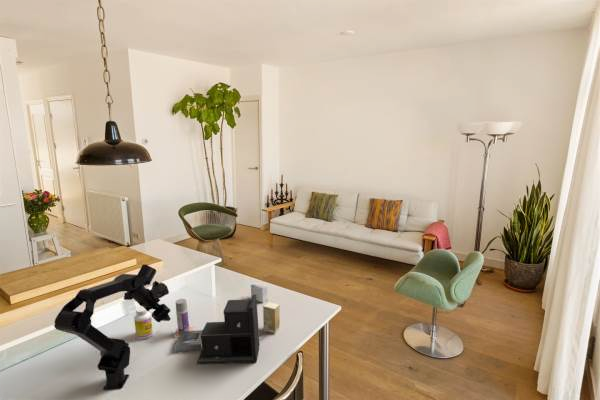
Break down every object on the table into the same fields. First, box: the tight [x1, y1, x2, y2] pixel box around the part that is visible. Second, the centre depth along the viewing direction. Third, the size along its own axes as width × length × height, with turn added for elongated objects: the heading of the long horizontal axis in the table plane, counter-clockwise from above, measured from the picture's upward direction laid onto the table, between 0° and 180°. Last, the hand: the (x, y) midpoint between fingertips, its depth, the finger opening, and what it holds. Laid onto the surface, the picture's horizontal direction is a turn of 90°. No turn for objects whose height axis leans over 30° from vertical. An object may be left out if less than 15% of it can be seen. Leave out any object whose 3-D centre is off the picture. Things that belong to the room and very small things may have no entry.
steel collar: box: [174, 329, 203, 353], centre depth 143 cm, size 10×10×3 cm
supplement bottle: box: [133, 306, 154, 340], centre depth 149 cm, size 7×7×13 cm
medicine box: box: [250, 281, 269, 304], centre depth 179 cm, size 8×4×9 cm, turn 58°
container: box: [175, 298, 190, 335], centre depth 150 cm, size 5×5×15 cm
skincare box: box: [262, 301, 281, 335], centre depth 151 cm, size 6×4×12 cm
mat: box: [173, 326, 195, 339], centre depth 152 cm, size 7×7×1 cm
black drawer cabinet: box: [196, 294, 261, 365], centre depth 133 cm, size 23×11×24 cm, turn 90°
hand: (164, 314), depth 143 cm, fingers open, 9 cm apart
